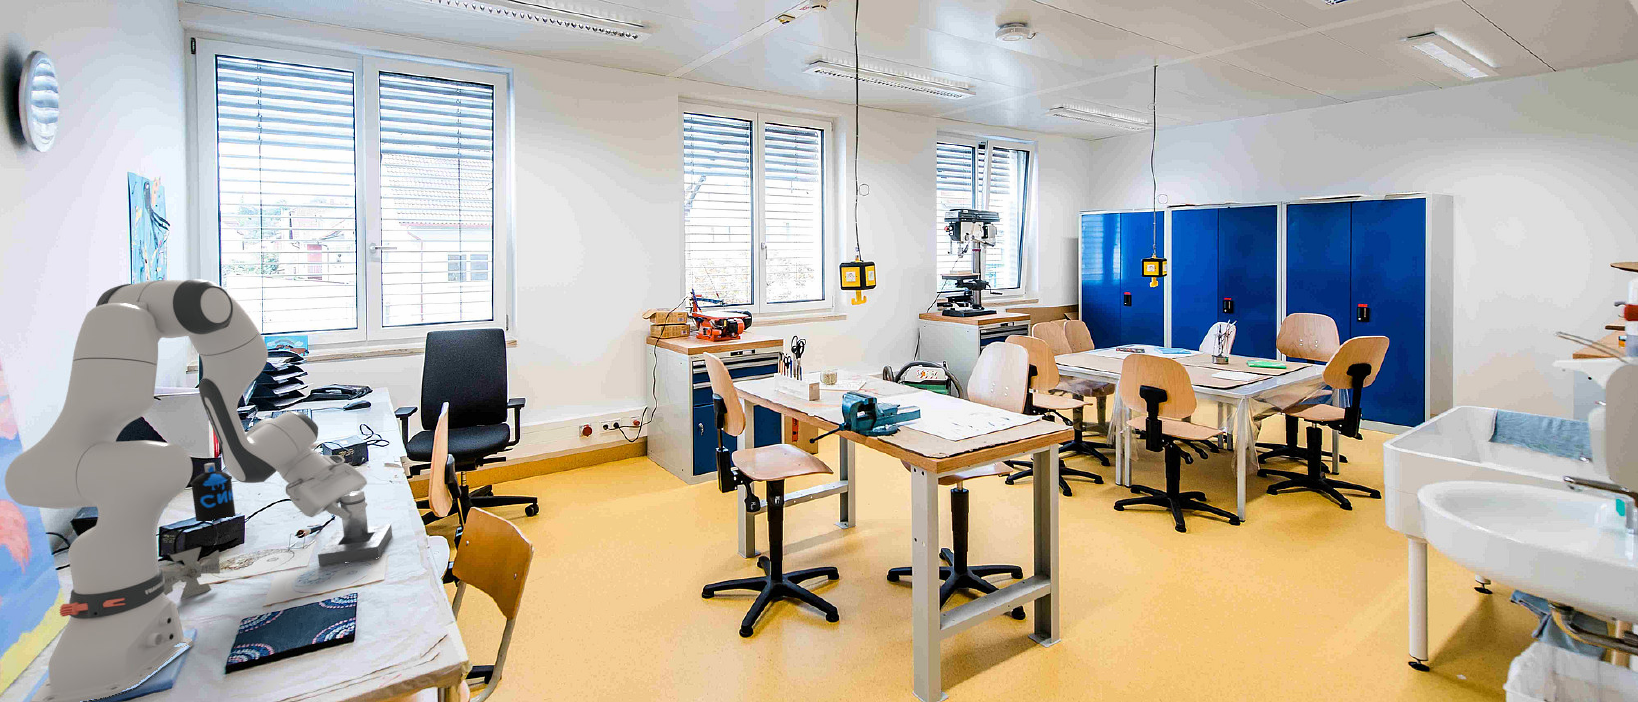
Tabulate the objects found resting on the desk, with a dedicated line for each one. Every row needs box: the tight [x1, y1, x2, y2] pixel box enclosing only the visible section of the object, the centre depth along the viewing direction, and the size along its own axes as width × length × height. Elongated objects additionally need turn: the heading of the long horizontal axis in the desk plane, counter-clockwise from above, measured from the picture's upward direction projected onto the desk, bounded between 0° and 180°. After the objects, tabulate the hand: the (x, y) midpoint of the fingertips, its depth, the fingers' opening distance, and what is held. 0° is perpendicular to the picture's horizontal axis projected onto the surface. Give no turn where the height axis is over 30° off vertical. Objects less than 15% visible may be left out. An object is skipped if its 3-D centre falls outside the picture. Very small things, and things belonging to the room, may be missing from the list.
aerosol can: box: [189, 462, 236, 522], centre depth 187 cm, size 8×8×20 cm
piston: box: [339, 490, 369, 538], centre depth 179 cm, size 5×5×10 cm
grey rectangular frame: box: [317, 523, 393, 567], centre depth 180 cm, size 16×12×3 cm
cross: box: [162, 546, 221, 600], centre depth 156 cm, size 10×3×10 cm, turn 152°
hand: (356, 512), depth 179 cm, fingers closed on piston, 5 cm apart
